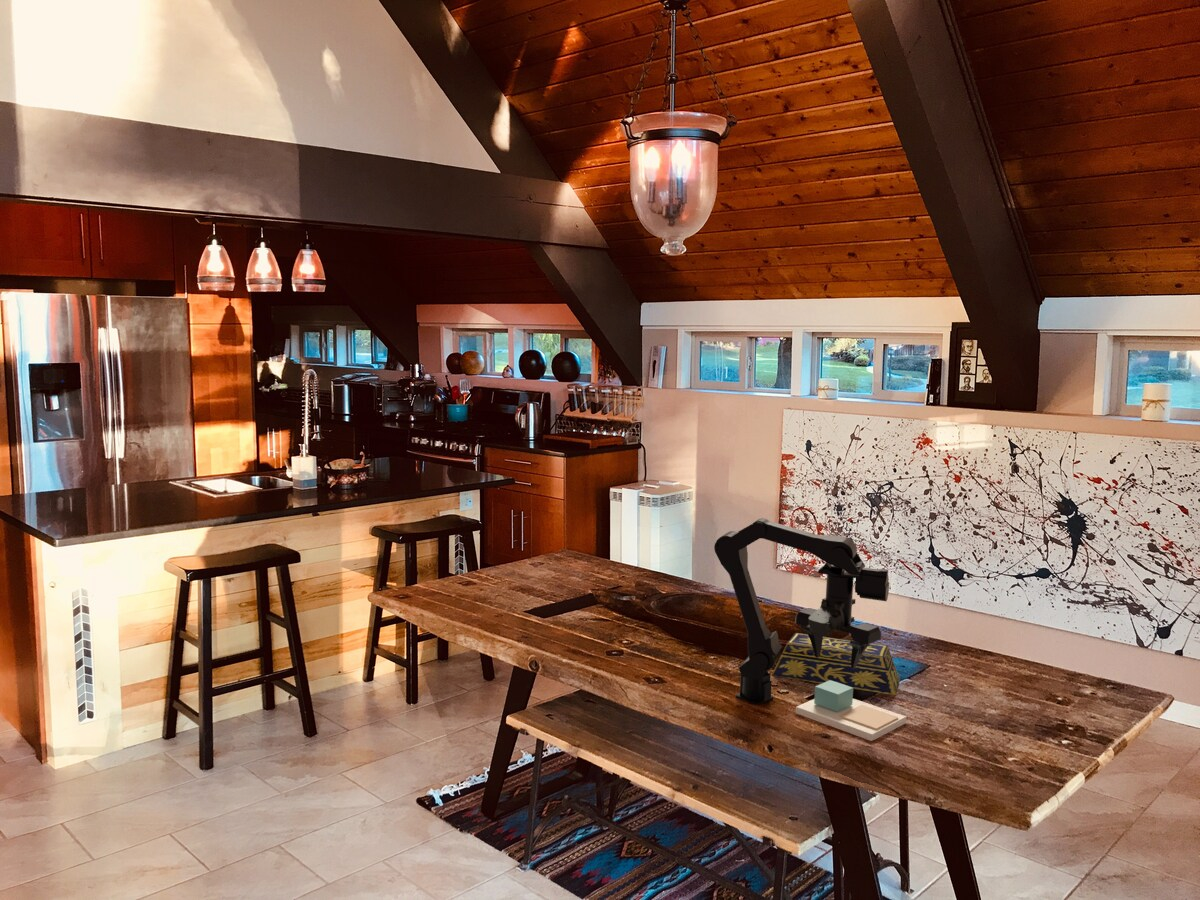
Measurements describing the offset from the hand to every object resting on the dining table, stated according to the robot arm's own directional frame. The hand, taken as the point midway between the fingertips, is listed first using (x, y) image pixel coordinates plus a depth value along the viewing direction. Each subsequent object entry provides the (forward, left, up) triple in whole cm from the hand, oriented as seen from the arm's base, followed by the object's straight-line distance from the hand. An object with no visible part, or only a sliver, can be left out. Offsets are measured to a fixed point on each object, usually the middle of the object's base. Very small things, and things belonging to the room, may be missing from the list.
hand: (835, 662), depth 212 cm
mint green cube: (0, 0, -10) cm, 10 cm away
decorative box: (-11, +19, -12) cm, 25 cm away
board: (+5, 0, -12) cm, 12 cm away
